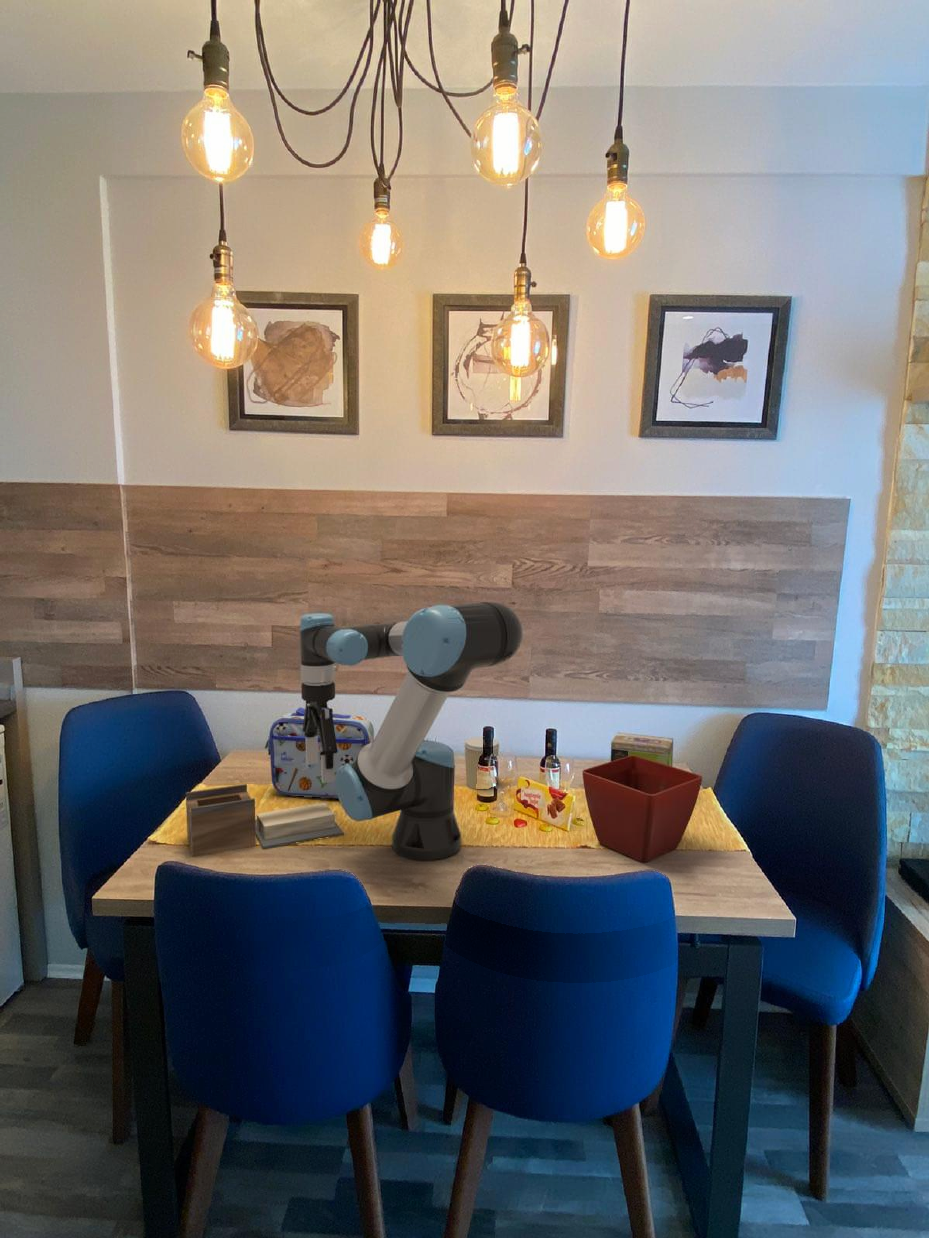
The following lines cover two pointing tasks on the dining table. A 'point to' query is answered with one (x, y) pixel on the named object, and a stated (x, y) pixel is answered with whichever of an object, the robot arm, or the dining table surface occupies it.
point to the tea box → (642, 747)
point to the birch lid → (295, 820)
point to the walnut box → (220, 819)
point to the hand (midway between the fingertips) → (319, 772)
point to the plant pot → (640, 805)
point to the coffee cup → (475, 758)
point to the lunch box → (291, 753)
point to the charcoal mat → (297, 836)
